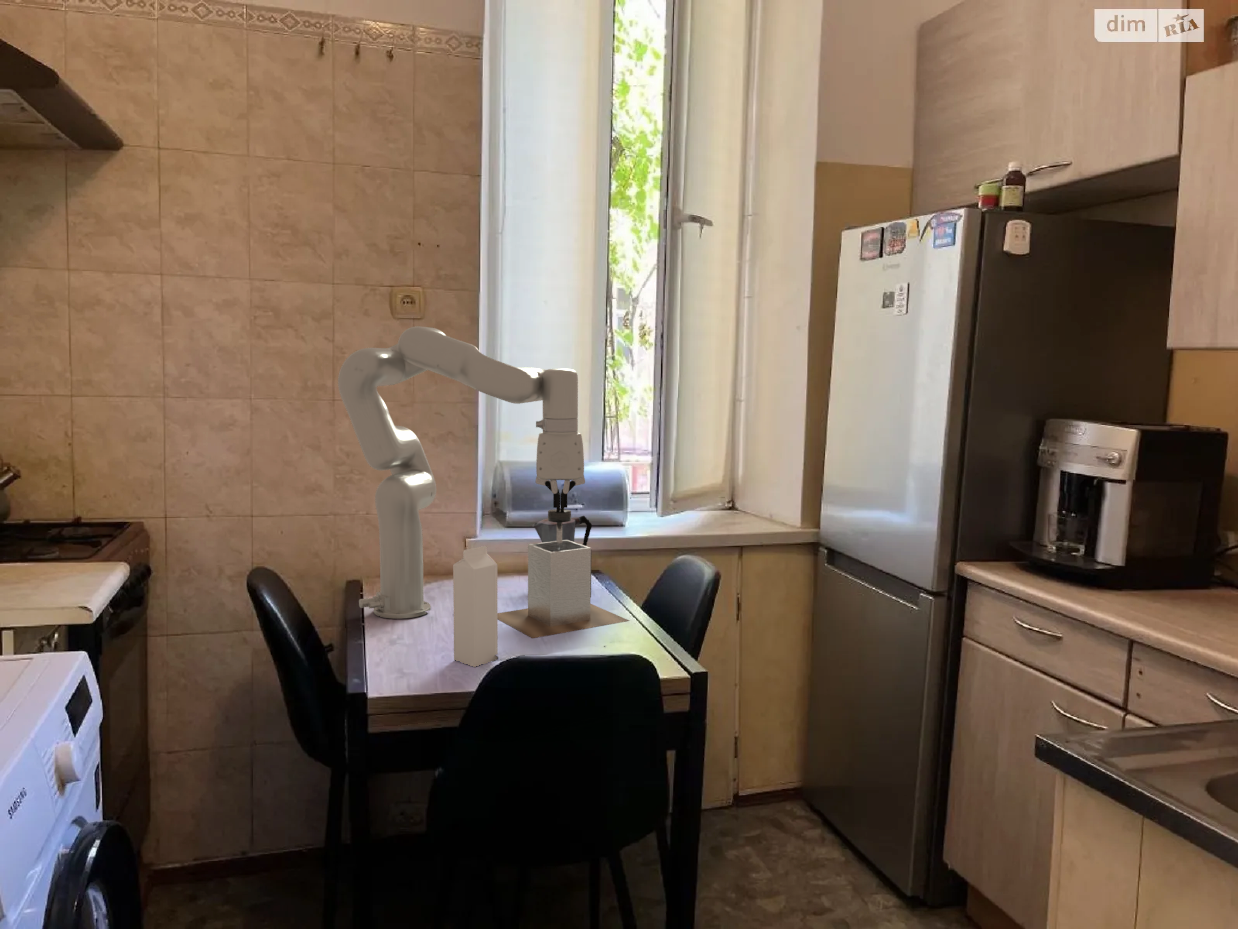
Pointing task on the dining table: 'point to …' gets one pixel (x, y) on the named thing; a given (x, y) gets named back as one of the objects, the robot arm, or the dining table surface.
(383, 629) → the dining table surface
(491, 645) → the milk
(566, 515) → the plunger
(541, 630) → the walnut board
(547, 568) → the open box
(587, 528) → the moka pot
